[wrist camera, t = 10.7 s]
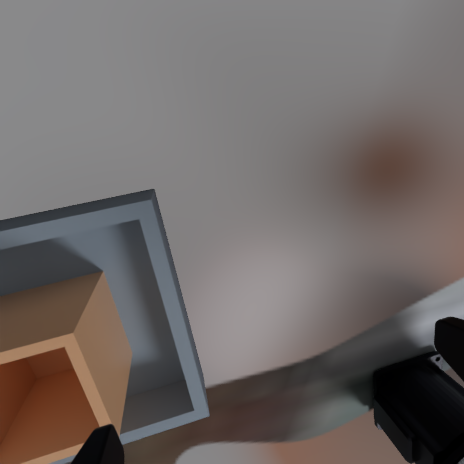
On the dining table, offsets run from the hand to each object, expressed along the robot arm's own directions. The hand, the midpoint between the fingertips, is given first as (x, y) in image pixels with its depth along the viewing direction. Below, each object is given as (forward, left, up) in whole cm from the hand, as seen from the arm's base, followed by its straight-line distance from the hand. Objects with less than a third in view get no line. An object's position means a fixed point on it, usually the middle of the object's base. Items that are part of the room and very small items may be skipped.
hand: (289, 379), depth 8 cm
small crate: (+10, +3, -11) cm, 15 cm away
